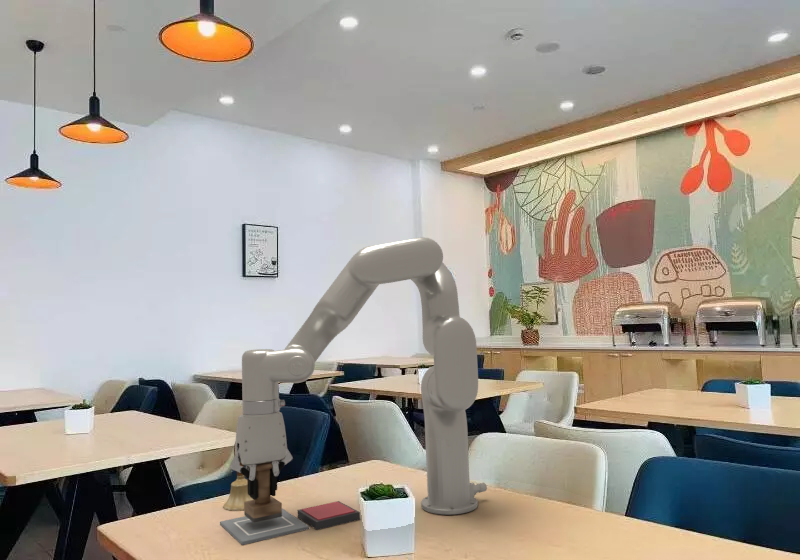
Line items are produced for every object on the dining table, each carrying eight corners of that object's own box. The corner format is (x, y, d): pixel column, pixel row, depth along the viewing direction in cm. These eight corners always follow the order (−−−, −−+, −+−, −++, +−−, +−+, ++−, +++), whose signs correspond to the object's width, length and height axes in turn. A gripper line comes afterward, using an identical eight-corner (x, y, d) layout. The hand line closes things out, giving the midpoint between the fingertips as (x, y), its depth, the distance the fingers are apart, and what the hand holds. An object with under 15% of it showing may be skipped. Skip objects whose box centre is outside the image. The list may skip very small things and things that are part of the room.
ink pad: (338, 508, 136) (338, 500, 136) (359, 519, 128) (359, 511, 128) (297, 517, 131) (297, 509, 131) (316, 530, 122) (316, 521, 123)
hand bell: (238, 513, 136) (236, 441, 137) (215, 507, 141) (214, 438, 142) (267, 503, 142) (265, 435, 143) (244, 498, 147) (242, 432, 148)
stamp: (271, 509, 130) (270, 458, 131) (281, 516, 125) (280, 463, 126) (244, 515, 127) (243, 463, 128) (253, 522, 122) (252, 468, 122)
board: (282, 511, 136) (282, 508, 136) (309, 529, 123) (309, 525, 123) (220, 524, 128) (219, 521, 128) (242, 545, 116) (241, 541, 116)
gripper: (290, 402, 135) (292, 485, 134) (216, 410, 126) (218, 499, 125) (304, 405, 129) (306, 493, 127) (227, 414, 120) (228, 508, 119)
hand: (262, 495), depth 126 cm, fingers closed on stamp, 3 cm apart
